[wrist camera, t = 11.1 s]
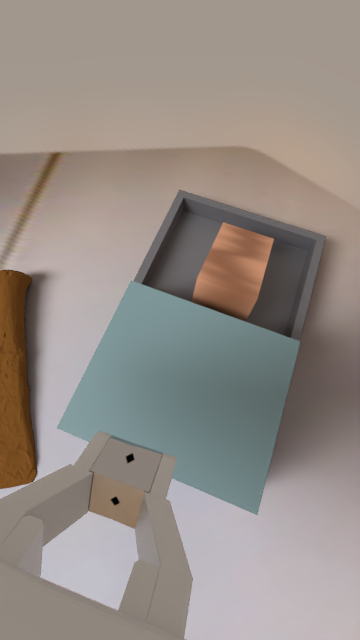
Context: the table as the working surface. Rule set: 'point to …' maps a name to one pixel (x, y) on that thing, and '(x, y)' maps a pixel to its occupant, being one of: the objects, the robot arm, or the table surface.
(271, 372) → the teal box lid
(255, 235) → the terracotta block
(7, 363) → the primitive tool
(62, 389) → the table surface
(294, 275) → the box
